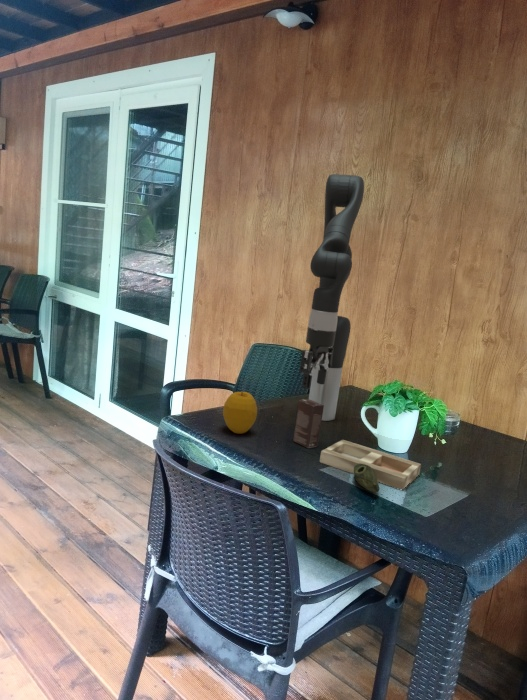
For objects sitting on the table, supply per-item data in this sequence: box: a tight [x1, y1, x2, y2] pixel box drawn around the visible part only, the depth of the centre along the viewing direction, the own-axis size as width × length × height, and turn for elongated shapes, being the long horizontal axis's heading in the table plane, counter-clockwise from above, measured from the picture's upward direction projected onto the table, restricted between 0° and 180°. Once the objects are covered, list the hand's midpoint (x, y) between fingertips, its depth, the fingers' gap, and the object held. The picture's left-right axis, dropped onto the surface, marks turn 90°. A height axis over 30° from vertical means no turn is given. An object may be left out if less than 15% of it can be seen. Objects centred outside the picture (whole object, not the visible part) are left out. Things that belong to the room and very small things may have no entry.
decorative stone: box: [353, 463, 380, 493], centre depth 134 cm, size 11×8×5 cm
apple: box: [222, 391, 258, 435], centre depth 160 cm, size 10×10×12 cm
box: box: [292, 398, 324, 449], centre depth 157 cm, size 6×4×12 cm
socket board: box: [319, 439, 422, 490], centre depth 145 cm, size 13×22×3 cm, turn 58°
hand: (313, 386), depth 155 cm, fingers open, 8 cm apart
